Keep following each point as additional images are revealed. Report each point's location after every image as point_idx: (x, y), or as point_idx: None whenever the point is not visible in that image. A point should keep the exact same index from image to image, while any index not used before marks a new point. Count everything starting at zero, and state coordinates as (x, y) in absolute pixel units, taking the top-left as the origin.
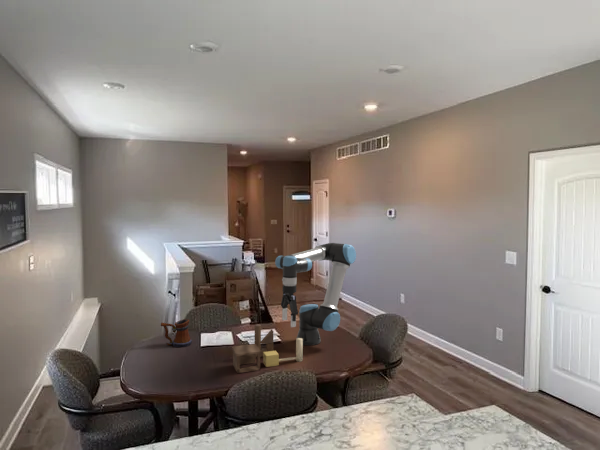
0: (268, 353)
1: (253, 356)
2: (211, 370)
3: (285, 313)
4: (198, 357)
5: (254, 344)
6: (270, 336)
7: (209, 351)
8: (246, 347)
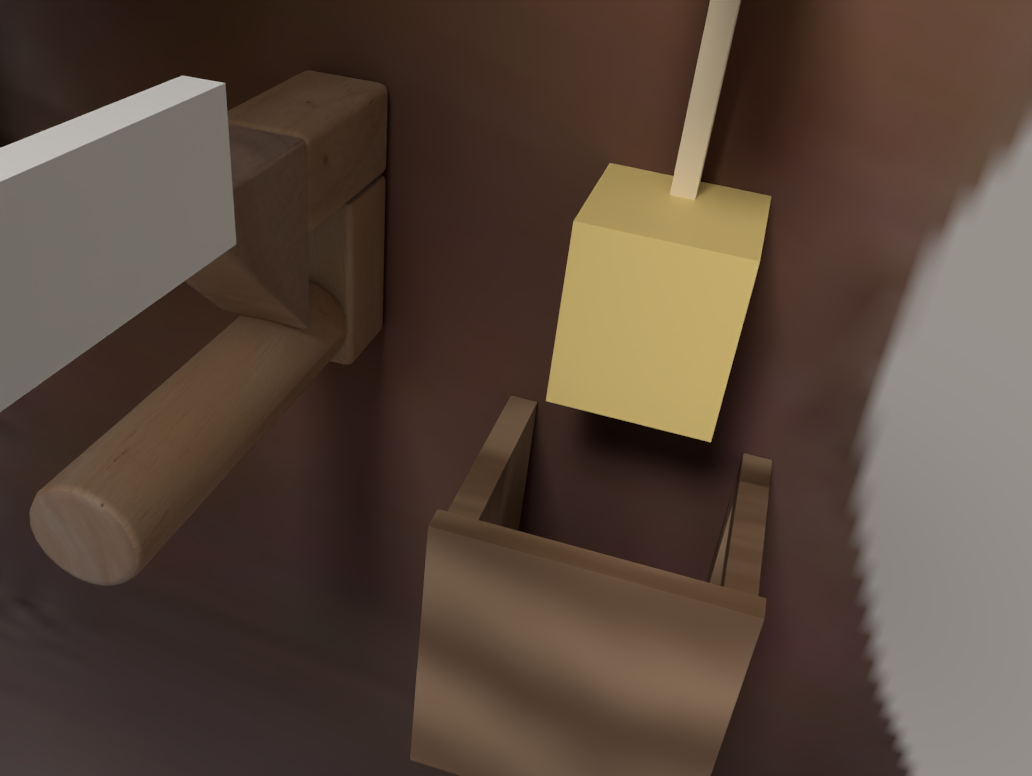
0: (638, 371)
1: (511, 466)
2: None
3: (78, 233)
4: (206, 707)
5: (447, 548)
6: (247, 235)
7: (88, 592)
8: (516, 672)
